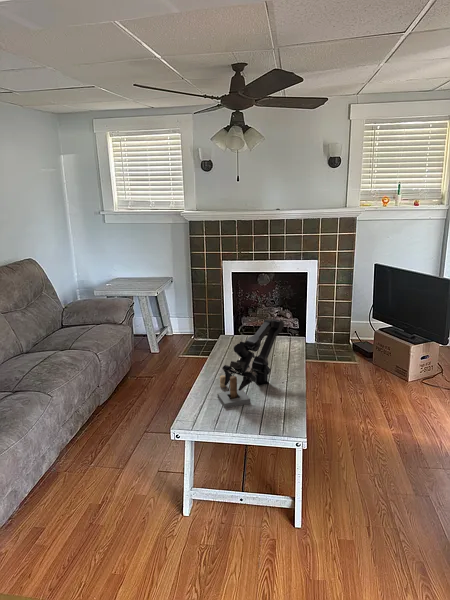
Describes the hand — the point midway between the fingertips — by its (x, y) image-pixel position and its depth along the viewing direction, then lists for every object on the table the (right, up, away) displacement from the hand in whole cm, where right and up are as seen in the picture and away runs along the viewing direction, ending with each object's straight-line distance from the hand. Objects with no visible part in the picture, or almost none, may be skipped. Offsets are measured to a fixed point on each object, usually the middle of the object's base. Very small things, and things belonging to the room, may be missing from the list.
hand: (232, 388), depth 219 cm
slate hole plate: (+1, -7, +3) cm, 8 cm away
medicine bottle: (+9, +3, +40) cm, 41 cm away
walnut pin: (+1, -7, +3) cm, 8 cm away
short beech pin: (-5, -3, +18) cm, 19 cm away
